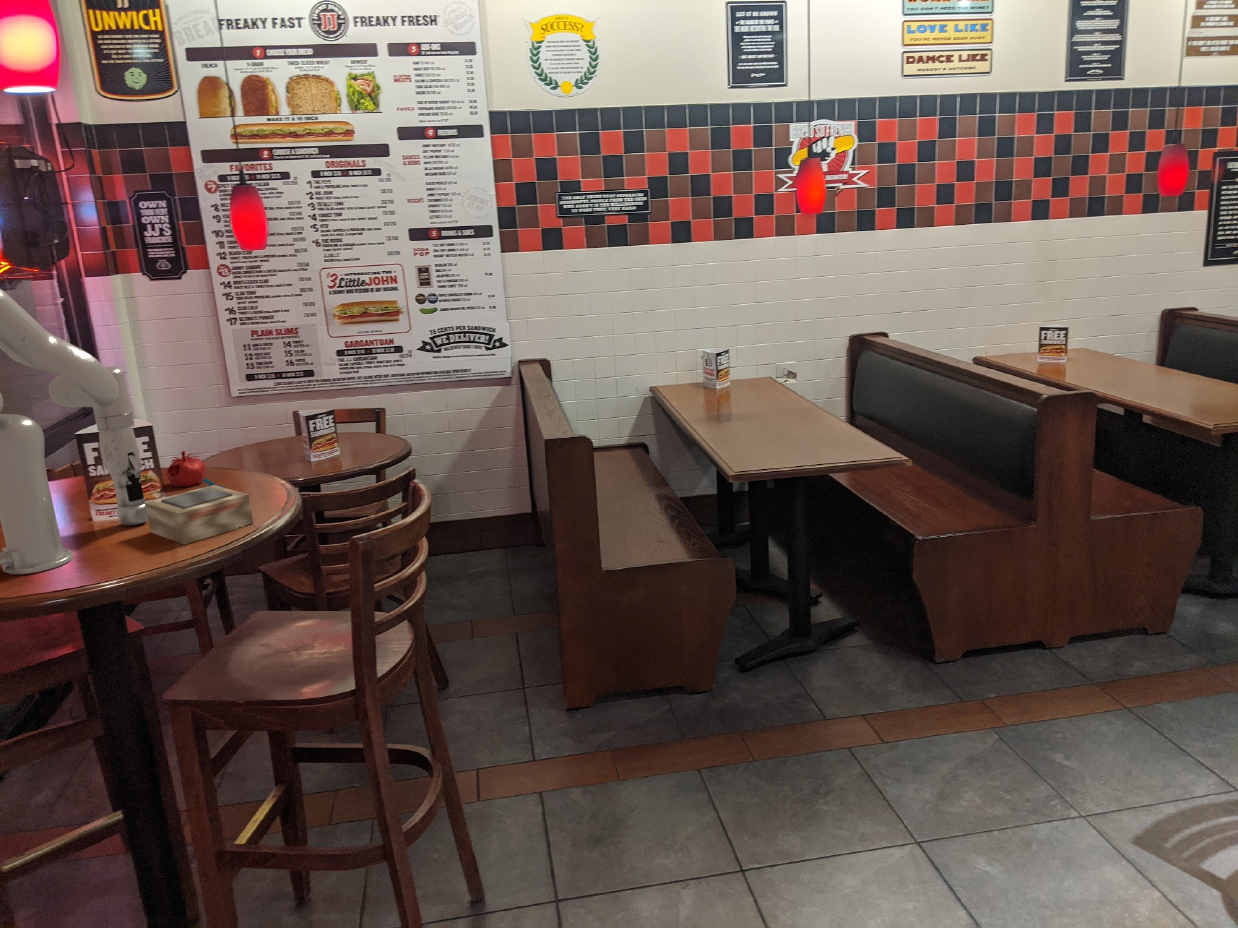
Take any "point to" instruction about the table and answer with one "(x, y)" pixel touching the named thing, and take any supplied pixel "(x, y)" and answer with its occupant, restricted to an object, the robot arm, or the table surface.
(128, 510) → the plastic bottle
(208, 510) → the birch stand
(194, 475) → the pomegranate
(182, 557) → the table surface
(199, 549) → the table surface
